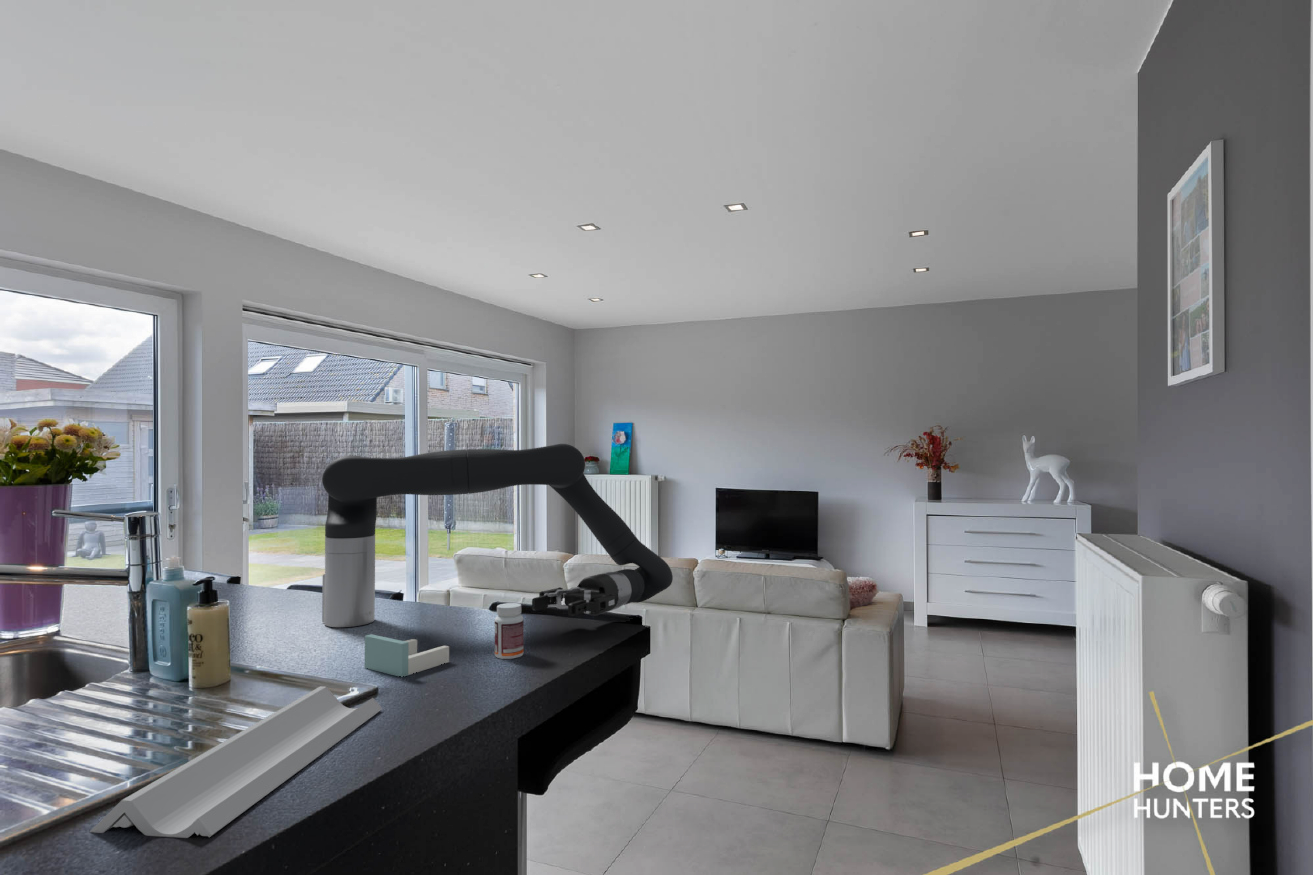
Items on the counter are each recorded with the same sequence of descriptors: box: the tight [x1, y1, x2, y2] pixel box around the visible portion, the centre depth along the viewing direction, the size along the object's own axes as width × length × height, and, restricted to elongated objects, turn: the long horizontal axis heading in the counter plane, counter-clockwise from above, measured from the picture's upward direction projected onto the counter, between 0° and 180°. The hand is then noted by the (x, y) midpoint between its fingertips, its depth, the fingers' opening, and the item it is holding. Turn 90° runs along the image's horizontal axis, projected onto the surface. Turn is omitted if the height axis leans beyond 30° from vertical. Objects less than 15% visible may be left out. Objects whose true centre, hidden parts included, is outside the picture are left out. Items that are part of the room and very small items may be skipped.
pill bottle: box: [494, 602, 525, 660], centre depth 120 cm, size 5×5×8 cm
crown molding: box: [89, 685, 383, 839], centre depth 79 cm, size 31×12×4 cm, turn 174°
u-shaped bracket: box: [364, 634, 450, 678], centre depth 114 cm, size 9×9×5 cm
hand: (551, 607), depth 129 cm, fingers open, 8 cm apart
